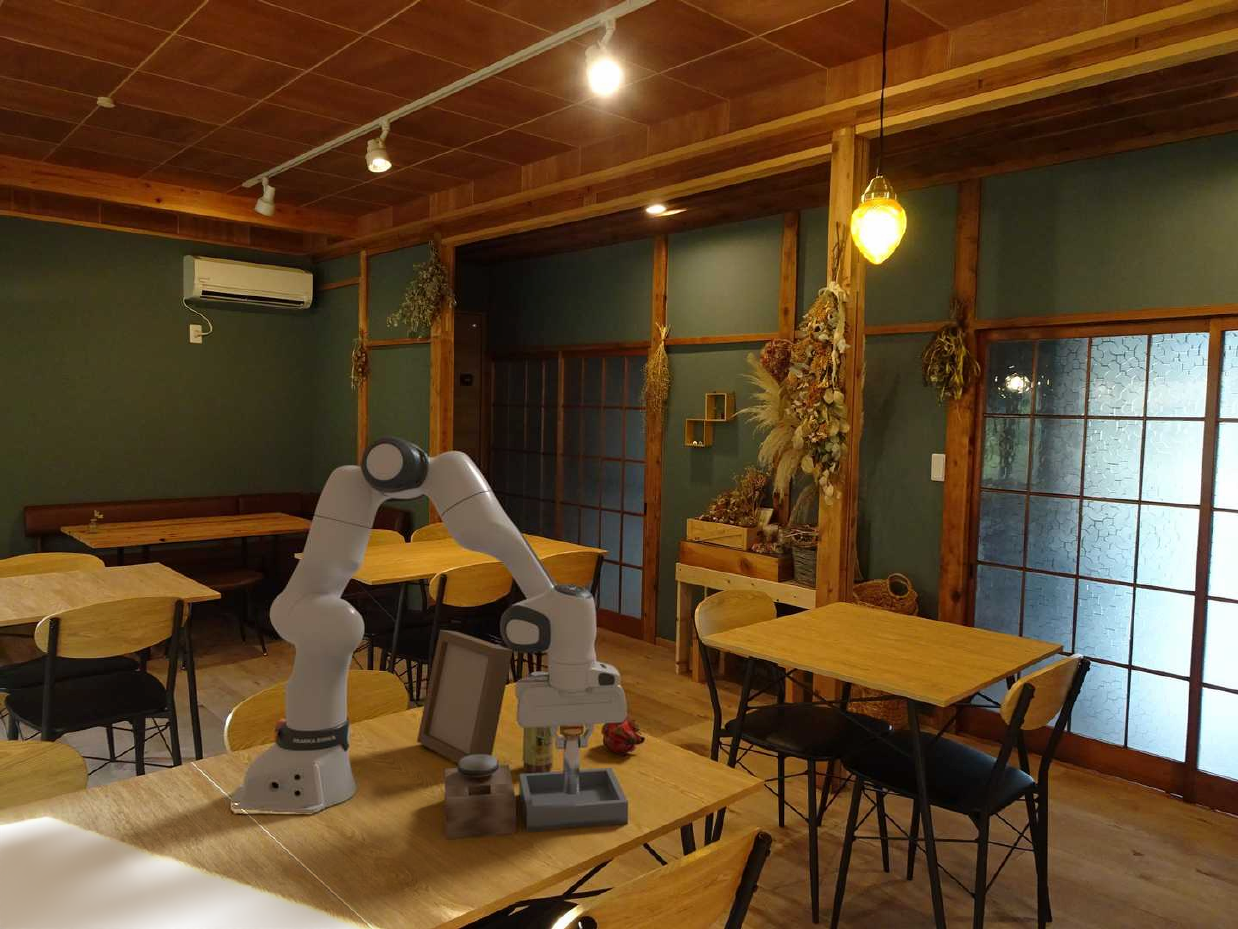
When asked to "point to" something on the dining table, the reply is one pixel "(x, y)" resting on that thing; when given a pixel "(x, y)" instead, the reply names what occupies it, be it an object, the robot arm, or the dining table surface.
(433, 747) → the photo frame
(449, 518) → the robot arm
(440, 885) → the dining table surface
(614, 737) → the dragon fruit
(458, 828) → the brown block with knob
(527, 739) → the sauce bottle
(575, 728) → the lock pin
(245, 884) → the dining table surface
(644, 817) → the dining table surface
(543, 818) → the tray
